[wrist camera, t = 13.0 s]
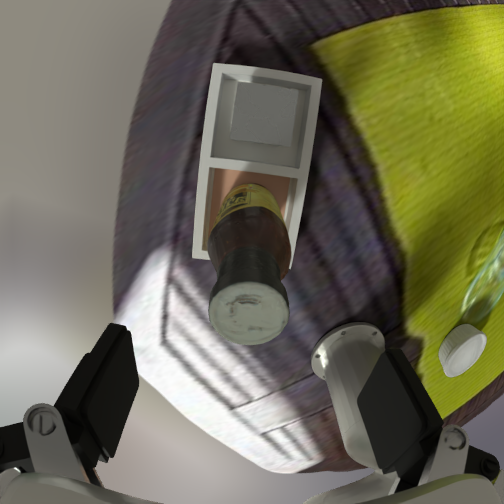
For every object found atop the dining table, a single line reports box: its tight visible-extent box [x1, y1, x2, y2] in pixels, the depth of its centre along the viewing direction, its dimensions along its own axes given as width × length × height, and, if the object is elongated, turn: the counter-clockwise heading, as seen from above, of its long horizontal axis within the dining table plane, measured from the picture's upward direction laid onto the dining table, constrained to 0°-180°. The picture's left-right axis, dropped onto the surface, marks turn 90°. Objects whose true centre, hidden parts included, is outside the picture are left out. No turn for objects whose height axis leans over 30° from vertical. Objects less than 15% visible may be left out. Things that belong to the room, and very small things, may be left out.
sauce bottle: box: [207, 183, 292, 345], centre depth 22 cm, size 6×6×20 cm
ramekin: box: [439, 324, 487, 377], centre depth 40 cm, size 11×11×5 cm
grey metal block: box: [230, 82, 299, 147], centre depth 24 cm, size 5×5×8 cm
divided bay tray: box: [192, 63, 322, 269], centre depth 29 cm, size 21×11×4 cm, turn 172°
